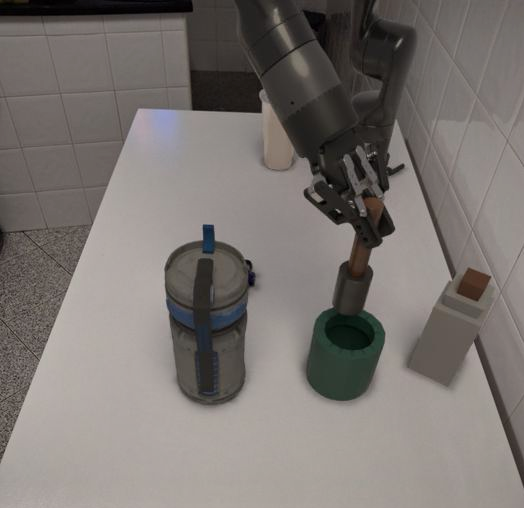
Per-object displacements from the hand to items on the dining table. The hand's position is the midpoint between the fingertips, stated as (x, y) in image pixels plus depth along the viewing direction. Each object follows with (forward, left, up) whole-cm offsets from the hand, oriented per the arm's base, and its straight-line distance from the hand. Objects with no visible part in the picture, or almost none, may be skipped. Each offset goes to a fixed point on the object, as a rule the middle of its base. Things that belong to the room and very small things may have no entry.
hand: (381, 239), depth 60 cm
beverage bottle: (+19, -8, -26) cm, 33 cm away
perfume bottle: (-14, +6, -26) cm, 30 cm away
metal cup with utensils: (-25, -56, -26) cm, 67 cm away
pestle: (+1, -2, -12) cm, 12 cm away
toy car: (+6, -28, -26) cm, 39 cm away
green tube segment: (+1, 0, -26) cm, 26 cm away
